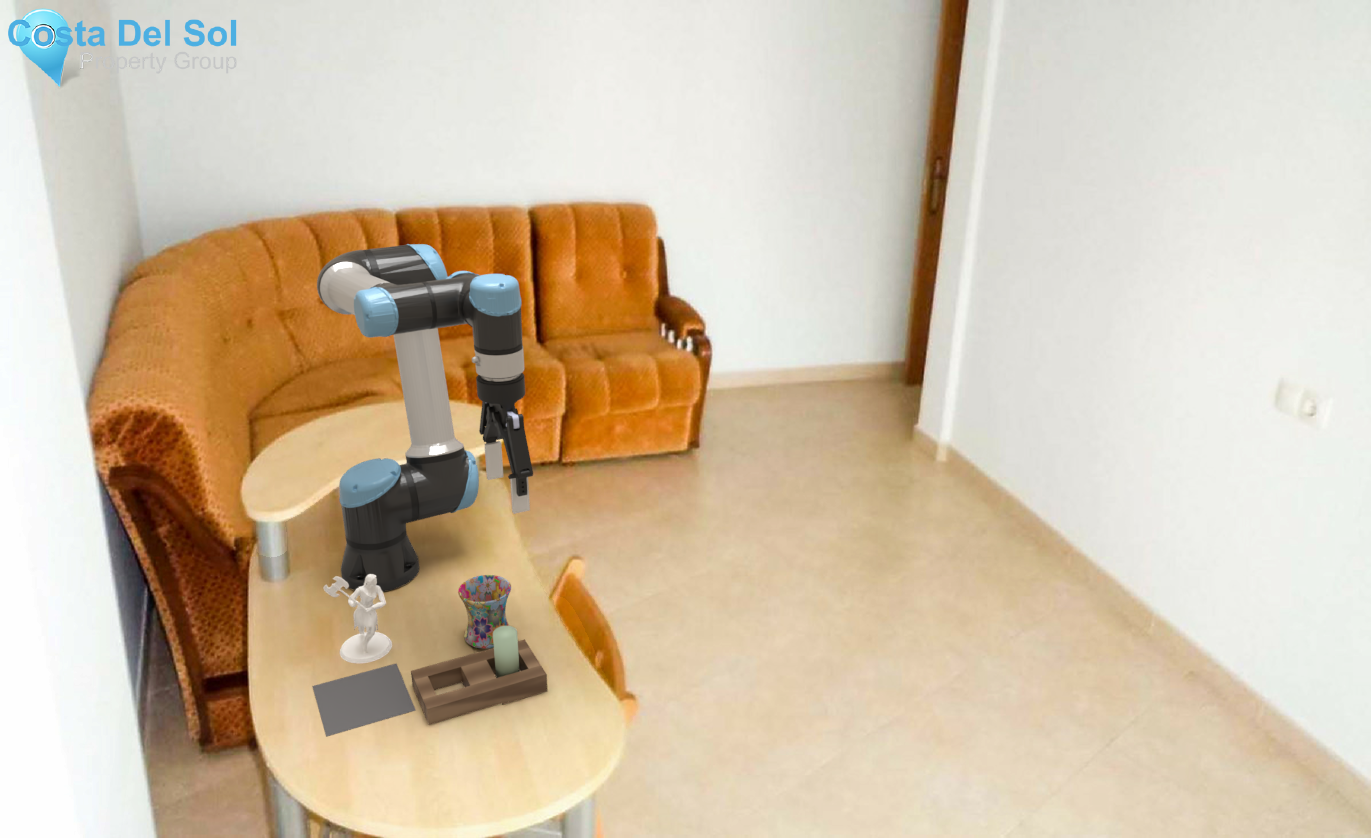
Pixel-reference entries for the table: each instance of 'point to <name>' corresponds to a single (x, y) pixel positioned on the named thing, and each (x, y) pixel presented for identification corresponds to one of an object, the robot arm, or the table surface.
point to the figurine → (363, 622)
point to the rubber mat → (362, 699)
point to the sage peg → (506, 650)
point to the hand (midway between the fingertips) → (507, 494)
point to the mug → (484, 608)
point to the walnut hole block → (476, 683)
